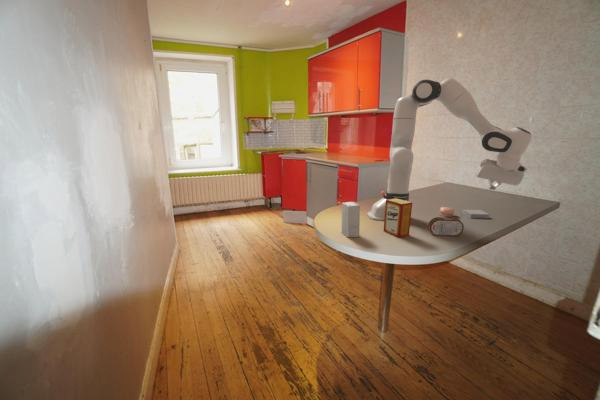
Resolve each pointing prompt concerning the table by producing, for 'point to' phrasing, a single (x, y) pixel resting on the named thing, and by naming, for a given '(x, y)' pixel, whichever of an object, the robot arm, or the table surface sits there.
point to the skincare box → (350, 219)
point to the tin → (445, 226)
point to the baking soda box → (397, 217)
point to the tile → (475, 214)
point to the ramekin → (446, 211)
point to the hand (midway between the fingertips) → (490, 188)
